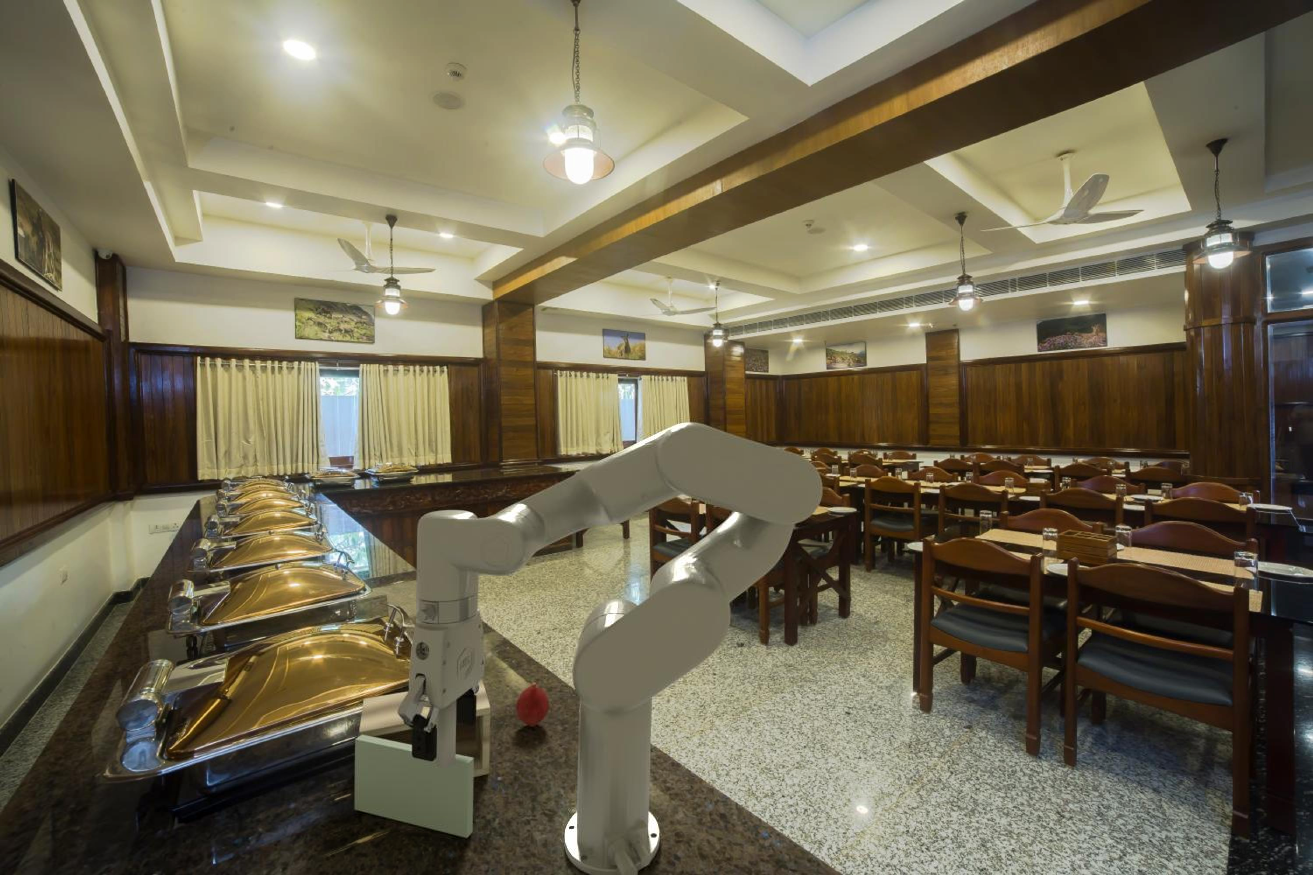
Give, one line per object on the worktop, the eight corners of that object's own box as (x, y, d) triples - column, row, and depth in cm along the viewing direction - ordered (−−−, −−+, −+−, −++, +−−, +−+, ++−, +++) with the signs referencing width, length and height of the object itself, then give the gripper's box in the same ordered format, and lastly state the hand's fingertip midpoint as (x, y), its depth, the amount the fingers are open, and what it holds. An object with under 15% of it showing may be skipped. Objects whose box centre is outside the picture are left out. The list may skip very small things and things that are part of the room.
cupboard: (489, 773, 86) (490, 707, 85) (358, 804, 78) (359, 731, 78) (480, 738, 95) (482, 679, 94) (363, 763, 87) (363, 698, 87)
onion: (508, 729, 98) (509, 685, 98) (530, 714, 103) (531, 672, 103) (534, 738, 95) (535, 693, 95) (555, 722, 100) (556, 679, 100)
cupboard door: (458, 847, 70) (461, 710, 70) (344, 818, 75) (345, 688, 74) (472, 831, 73) (474, 698, 73) (361, 803, 78) (362, 678, 77)
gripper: (427, 635, 62) (425, 787, 62) (508, 590, 79) (506, 710, 79) (372, 626, 64) (371, 774, 64) (462, 584, 81) (461, 702, 81)
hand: (445, 738), depth 72 cm, fingers open, 7 cm apart
